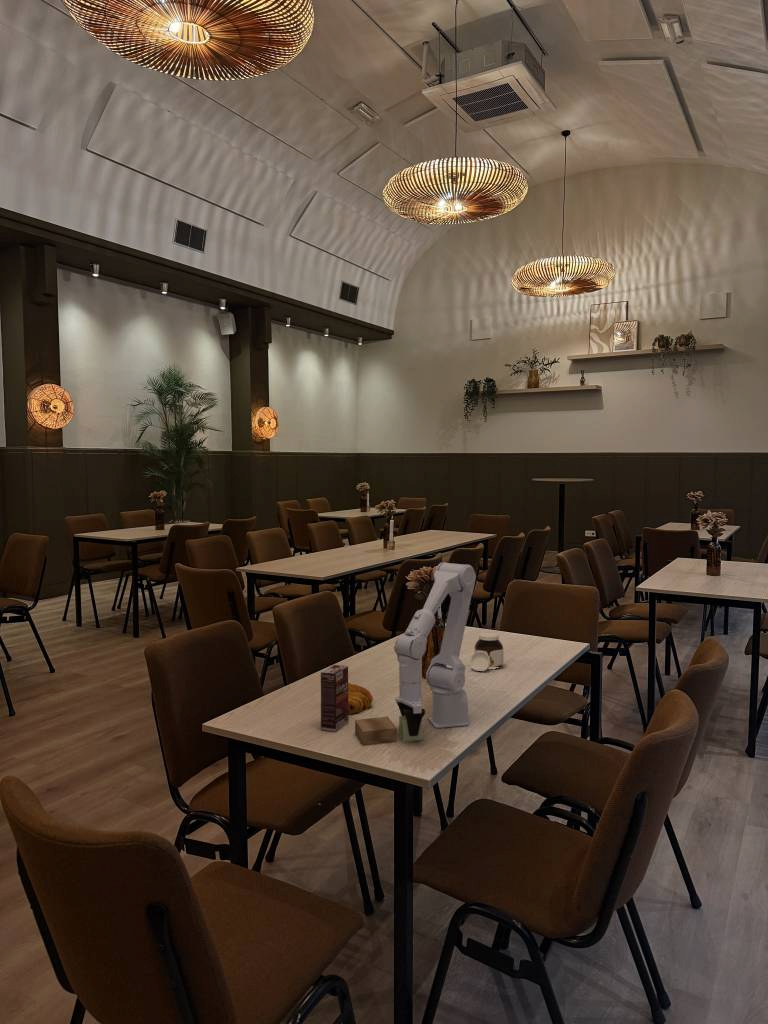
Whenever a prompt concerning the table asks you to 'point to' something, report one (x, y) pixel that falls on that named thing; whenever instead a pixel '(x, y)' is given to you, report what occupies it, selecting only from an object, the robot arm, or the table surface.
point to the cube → (404, 730)
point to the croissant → (358, 698)
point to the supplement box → (334, 698)
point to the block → (375, 731)
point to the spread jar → (487, 652)
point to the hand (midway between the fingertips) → (410, 731)
